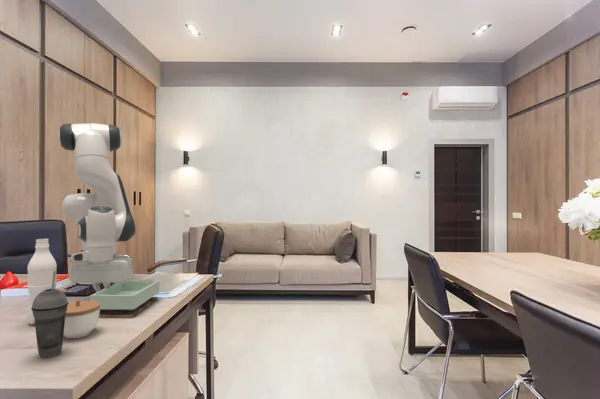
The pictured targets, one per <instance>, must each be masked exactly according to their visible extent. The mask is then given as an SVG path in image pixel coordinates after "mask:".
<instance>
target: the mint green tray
mask: <svg viewBox="0 0 600 399" xmlns="http://www.w3.org/2000/svg"><path fill="white" fill-rule="evenodd" d="M102 289H103V290H101V291H99V292H97V293H96V292H95V293H93V294H91V295H90V297H89V301H97V302H99V303H100V311H103V310H105V309H126V310H127V311H132V310H133V309H135V308H137V307H138V306H140V305H141V304H143V303H144V302H146V301H147V300H149V299H150V298H152V297H156V295H157V294H159V293H160V280H153V281H138V280H131V281H129V282H127V283H113V284H112V285H110V286H109V287H107V288H105V289H104V288H102Z"/></svg>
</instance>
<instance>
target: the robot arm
mask: <svg viewBox="0 0 600 399" xmlns="http://www.w3.org/2000/svg"><path fill="white" fill-rule="evenodd" d="M57 140H58V142H59V144H60V146H61V148H63V149H64V150H66V151H70V152H71V151H72V152H73V151H74V169H75V172H76V175H77V176H78V177H79V180H80V182H81V183H82V184H83V185H84V186H86V187H89V188H91V189H93V190H94V191H95V192H93V193H91V192H89V193H87V192H83V193H82V192H80V193H73V194H68V195H66V196H65V197H64V199H63V200H62V203H61V209H62V213H63V214H65V216H67V217H68V218H69V219H71V220H72V221H73V222H74V223H75V224H76V226H77V227H78V228H77V238H79V240H81V250H80V252H77V253H73V254H71V256H70V260H71V263H70V265H69V270H68V278H69V281H70V282H71V283H77V284H79V285H92V287H93V289H94V290H95V293H97V292H99V291H101V290H103V289H105V288H107V287H110V286H111V284H112V283H113V284H116V283H127V282H129V281H133V278H134V272H133V271H134V270H133V258H132V257H131V256H129V255H128V254H117V242H124V243H125V242H128V241H129V240H131V239H132V238H133V237H134V236H135V235H136V229H137V228H136V223H135V220H134V217H133V215H132V213H131V209H130V205H129V201H128V200H129V199H128V198H127V194H126V190H125V187H124V183H123V181H122V179H121V176H120V175H119V174H118V173H116V172H115V170H113V168H112V167H111V164H110V158H109V152H113V151H116V150H119V148H121V146H122V143H123V134H122V132H121V130H120V128H119V127H118V126H117V125H114V124H102V123H95V122H90V123H86V122H85V123H71V122H70V123H64V124H62V125H60V127H59V129H58V132H57ZM100 284H102V285H103V286H104V287H103V288H101V287H100Z"/></svg>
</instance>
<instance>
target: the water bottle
mask: <svg viewBox="0 0 600 399" xmlns="http://www.w3.org/2000/svg"><path fill="white" fill-rule="evenodd" d="M49 247H50V243H49V238H37V239H35V246H34V248H35V251H34V254H32V257H31V259H30V261H29V262H28V264H27V268H26V270H27V285H26V287H27V290H28V295H29V298H28V308H27V312H26V314H27V320H28V322H29V324H30V325H33V326H35V319H34V317H33V312H32V309H31V308H32V304H33V301H34V299H35V297H36V296H37V295H38V294H39V293H41V292H42V291H44V290H46V289H52V280H53V271H56V272H57V267H58V265H57V261H56V259H55V258H54V256H53V255H52V253H51V251H50V248H49ZM57 284H58V282H57V275H56V276H55V286H54V289H57Z"/></svg>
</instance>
